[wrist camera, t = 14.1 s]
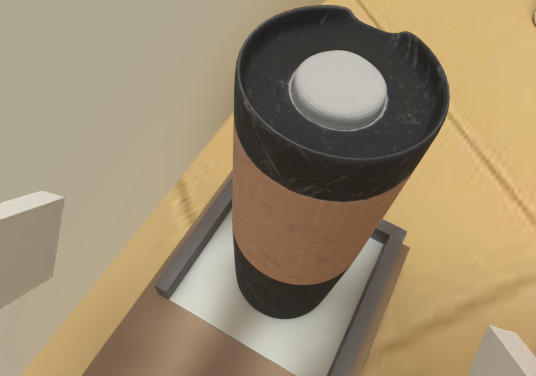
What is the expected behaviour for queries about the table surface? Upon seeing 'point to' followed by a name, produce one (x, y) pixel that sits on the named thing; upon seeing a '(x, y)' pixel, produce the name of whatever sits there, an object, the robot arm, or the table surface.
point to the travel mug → (322, 147)
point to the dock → (248, 312)
